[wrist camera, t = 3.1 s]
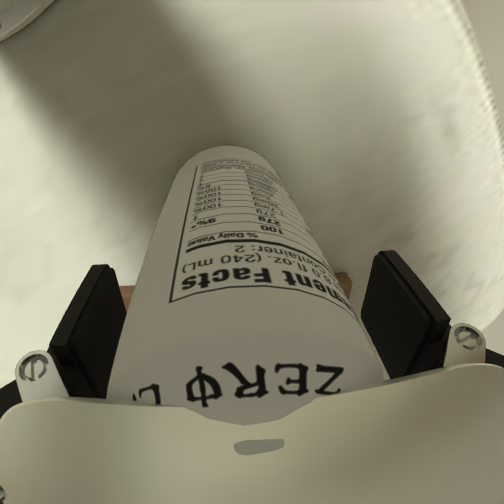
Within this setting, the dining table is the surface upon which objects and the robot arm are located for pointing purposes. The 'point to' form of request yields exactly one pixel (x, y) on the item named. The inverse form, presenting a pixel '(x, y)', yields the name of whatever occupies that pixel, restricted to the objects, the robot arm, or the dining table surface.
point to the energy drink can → (237, 304)
